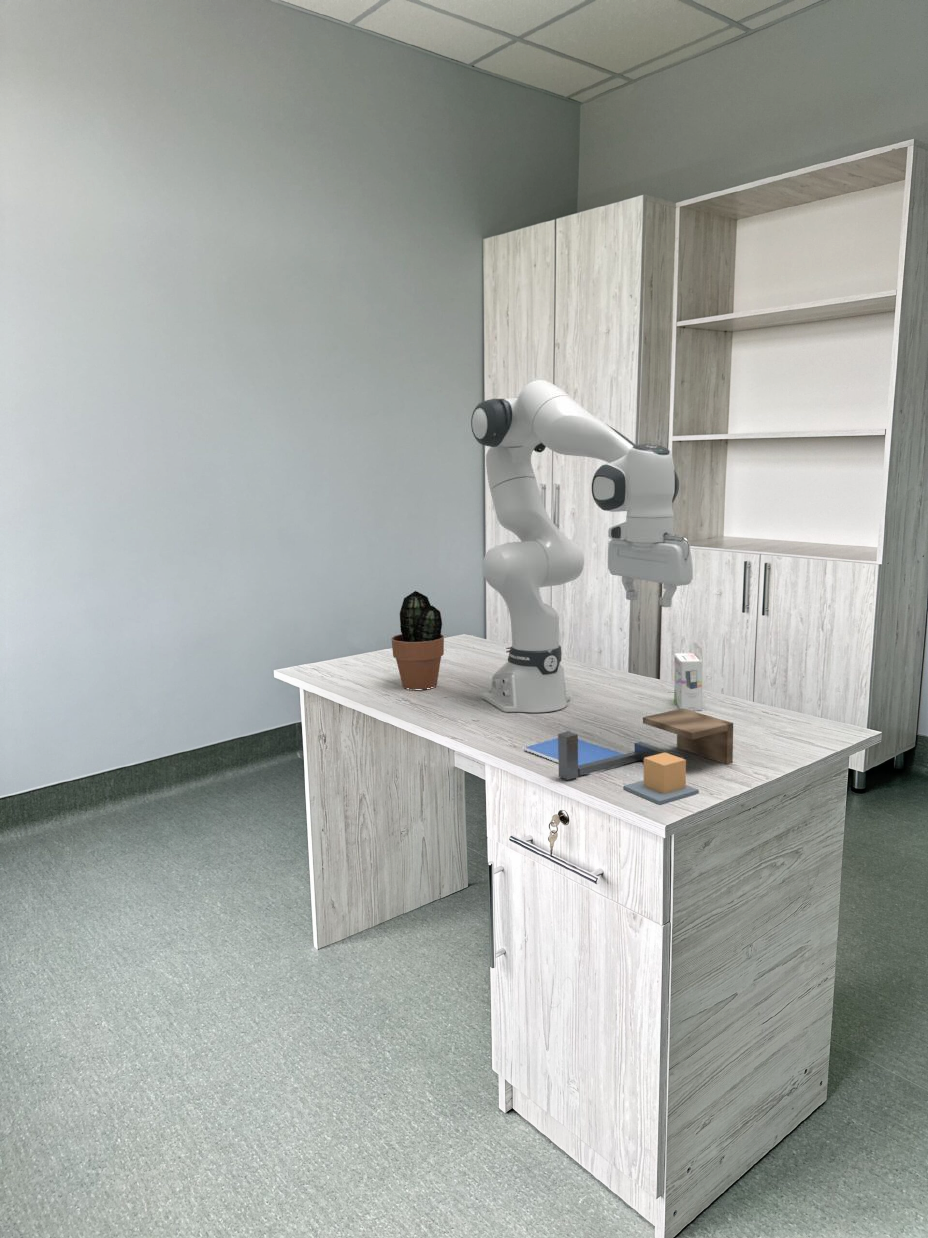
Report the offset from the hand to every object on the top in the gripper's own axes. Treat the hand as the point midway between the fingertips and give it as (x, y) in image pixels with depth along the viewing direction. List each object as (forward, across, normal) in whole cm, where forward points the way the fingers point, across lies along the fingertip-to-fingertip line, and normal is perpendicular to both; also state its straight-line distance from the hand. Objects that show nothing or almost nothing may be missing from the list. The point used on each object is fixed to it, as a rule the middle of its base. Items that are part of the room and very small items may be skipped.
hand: (648, 603), depth 174 cm
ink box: (+30, +17, -28) cm, 45 cm away
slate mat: (+29, -20, +14) cm, 38 cm away
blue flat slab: (+30, +4, +14) cm, 33 cm away
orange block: (+28, -20, +13) cm, 37 cm away
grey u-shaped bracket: (+29, -10, +15) cm, 34 cm away
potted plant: (+31, +73, +12) cm, 80 cm away
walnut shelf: (+29, -10, -1) cm, 31 cm away
